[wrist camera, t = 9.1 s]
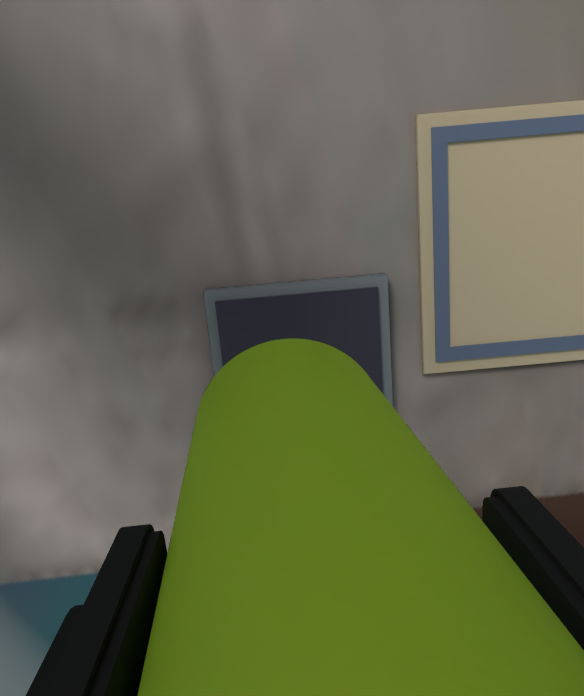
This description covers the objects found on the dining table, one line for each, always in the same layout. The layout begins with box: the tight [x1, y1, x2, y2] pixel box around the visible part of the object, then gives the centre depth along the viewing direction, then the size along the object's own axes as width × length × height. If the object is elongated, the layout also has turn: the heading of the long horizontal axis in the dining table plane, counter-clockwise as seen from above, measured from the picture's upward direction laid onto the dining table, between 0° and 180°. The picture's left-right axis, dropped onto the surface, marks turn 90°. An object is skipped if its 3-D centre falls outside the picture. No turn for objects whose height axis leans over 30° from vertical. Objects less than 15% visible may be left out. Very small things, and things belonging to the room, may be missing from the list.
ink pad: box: [203, 273, 393, 406], centre depth 29 cm, size 8×10×1 cm
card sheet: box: [416, 100, 584, 374], centre depth 28 cm, size 14×14×1 cm
